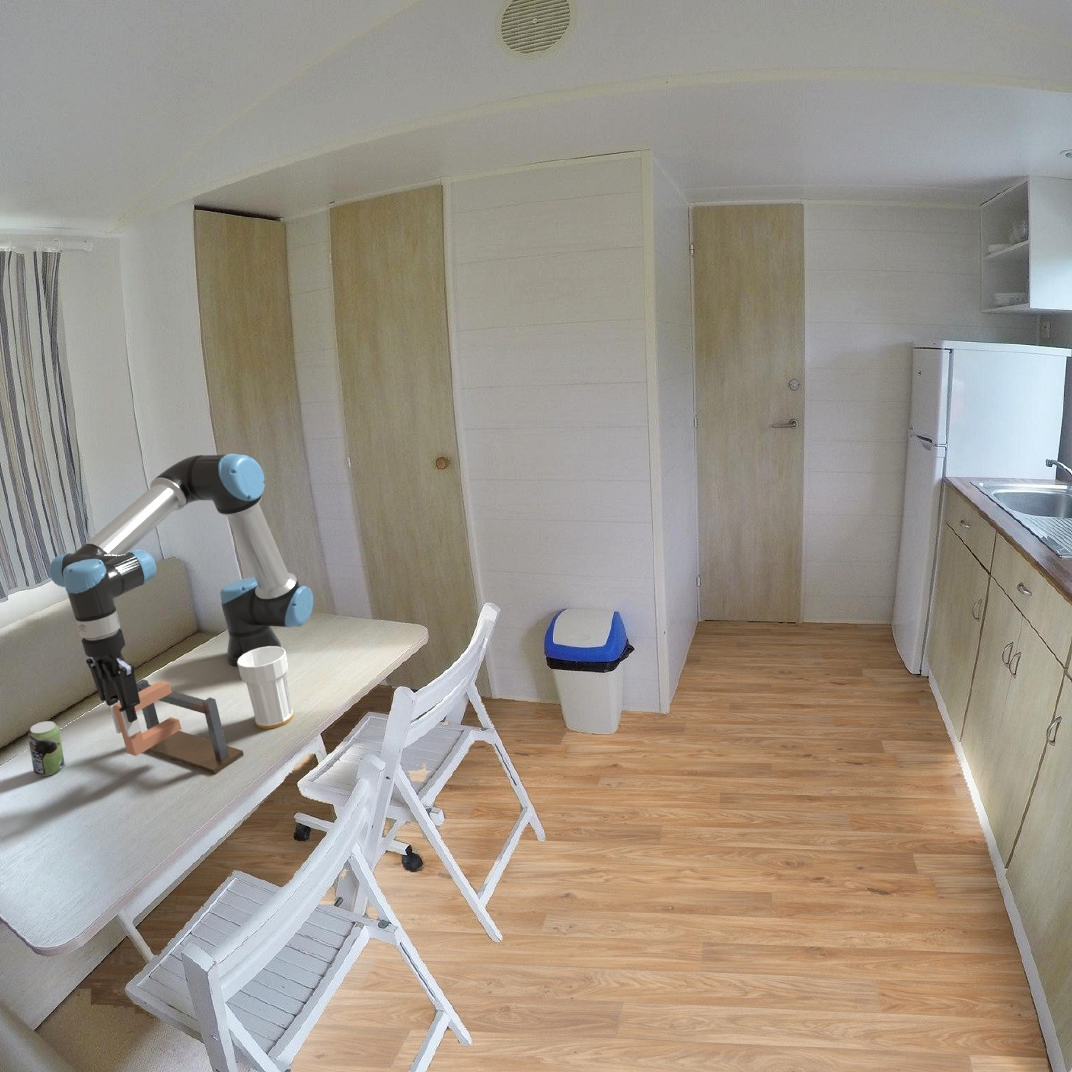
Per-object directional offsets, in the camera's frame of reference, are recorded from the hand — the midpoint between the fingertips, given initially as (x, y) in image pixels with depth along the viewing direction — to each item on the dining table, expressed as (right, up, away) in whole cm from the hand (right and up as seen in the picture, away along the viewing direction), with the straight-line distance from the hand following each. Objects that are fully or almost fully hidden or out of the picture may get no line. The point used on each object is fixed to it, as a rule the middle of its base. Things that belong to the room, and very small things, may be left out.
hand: (128, 731), depth 167 cm
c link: (+3, -4, +6) cm, 7 cm away
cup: (+23, -3, +25) cm, 34 cm away
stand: (+7, -8, +14) cm, 18 cm away
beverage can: (-23, -12, +11) cm, 28 cm away
